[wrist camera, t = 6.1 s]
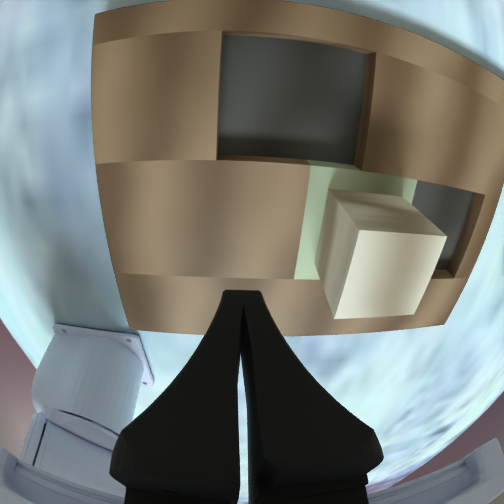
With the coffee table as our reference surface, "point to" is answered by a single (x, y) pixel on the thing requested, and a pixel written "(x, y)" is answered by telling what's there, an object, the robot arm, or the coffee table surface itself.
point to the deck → (279, 154)
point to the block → (375, 254)
